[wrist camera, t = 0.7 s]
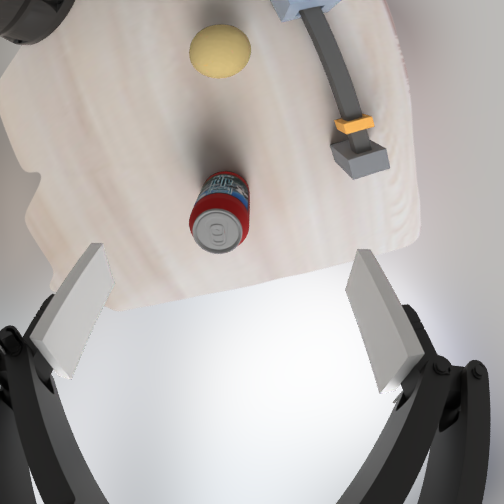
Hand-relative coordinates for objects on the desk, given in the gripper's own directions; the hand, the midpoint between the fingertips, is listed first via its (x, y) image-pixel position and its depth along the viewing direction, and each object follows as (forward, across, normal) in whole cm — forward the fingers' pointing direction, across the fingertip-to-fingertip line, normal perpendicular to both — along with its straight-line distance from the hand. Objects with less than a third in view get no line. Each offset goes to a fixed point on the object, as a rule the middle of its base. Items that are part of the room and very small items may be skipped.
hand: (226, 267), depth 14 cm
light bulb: (+27, -2, +12) cm, 30 cm away
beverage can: (+27, -2, -7) cm, 28 cm away
